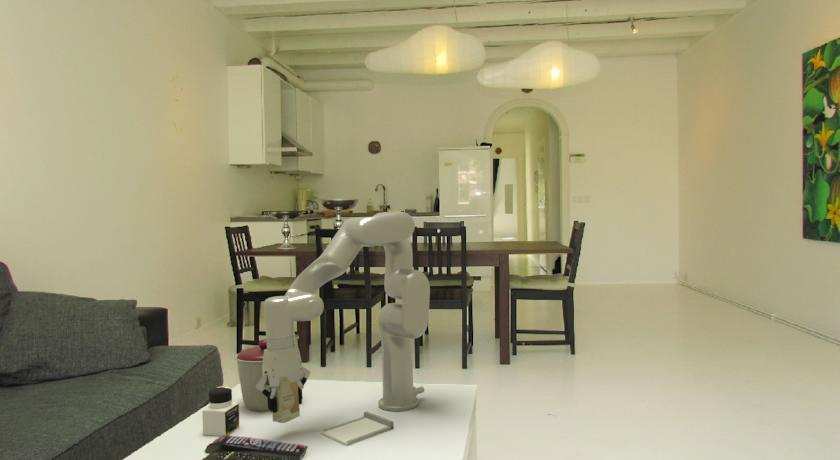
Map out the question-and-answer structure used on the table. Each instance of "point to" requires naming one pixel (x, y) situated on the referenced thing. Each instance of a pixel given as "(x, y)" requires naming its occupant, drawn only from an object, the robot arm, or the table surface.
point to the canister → (252, 376)
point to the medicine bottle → (220, 413)
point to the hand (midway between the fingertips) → (285, 406)
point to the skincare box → (286, 401)
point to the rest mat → (358, 429)
